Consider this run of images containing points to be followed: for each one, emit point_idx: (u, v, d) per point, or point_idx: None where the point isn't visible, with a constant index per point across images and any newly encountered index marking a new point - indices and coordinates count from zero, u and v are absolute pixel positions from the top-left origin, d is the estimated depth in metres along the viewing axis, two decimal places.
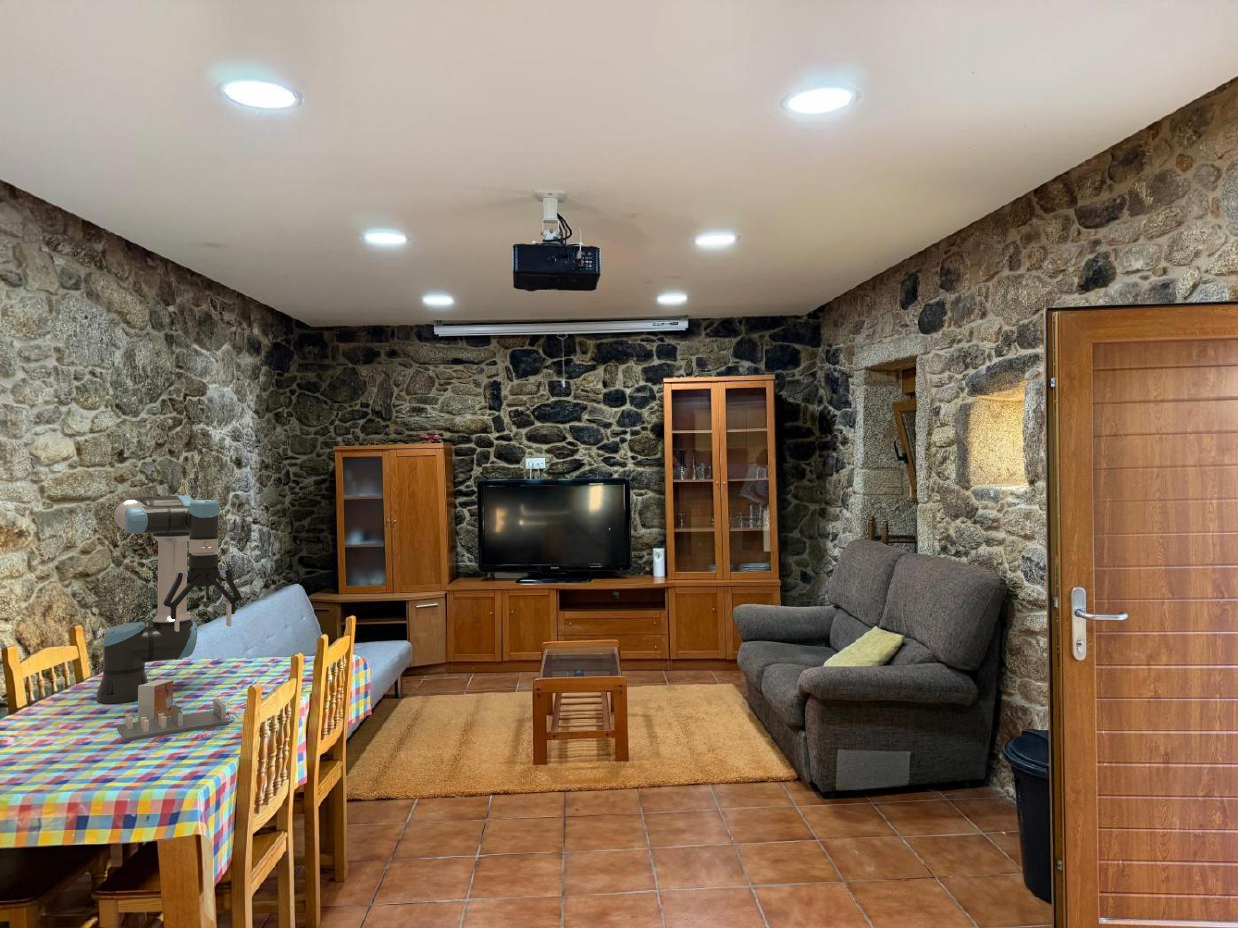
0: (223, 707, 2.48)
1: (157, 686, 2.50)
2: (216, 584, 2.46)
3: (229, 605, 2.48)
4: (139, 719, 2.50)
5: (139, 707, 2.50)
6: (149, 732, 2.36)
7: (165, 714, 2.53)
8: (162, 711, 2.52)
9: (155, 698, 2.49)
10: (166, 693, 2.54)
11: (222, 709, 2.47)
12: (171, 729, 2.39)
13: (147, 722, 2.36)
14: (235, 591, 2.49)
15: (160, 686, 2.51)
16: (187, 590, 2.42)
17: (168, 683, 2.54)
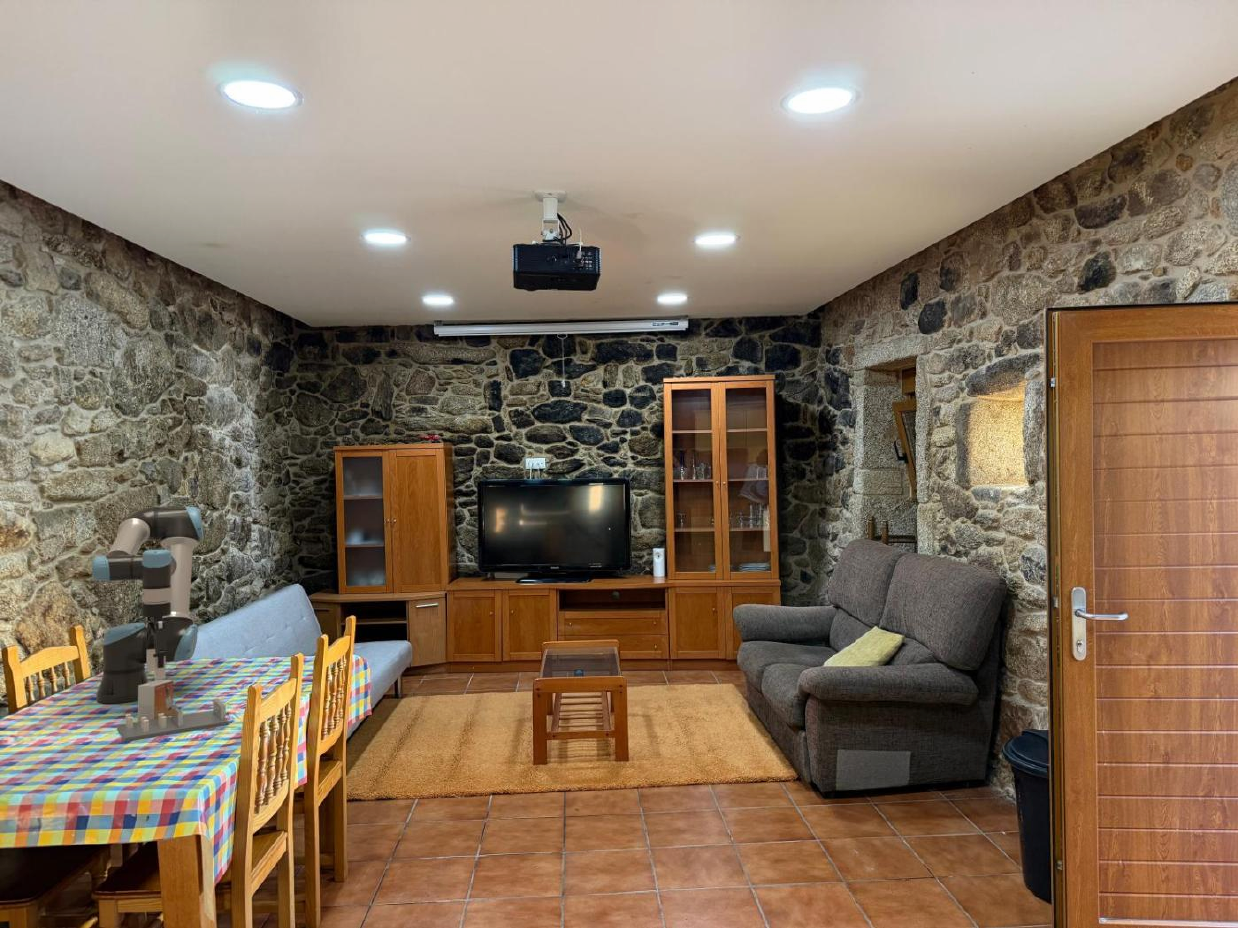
0: (223, 707, 2.48)
1: (157, 686, 2.50)
2: (151, 634, 2.50)
3: (154, 658, 2.47)
4: (139, 719, 2.50)
5: (139, 707, 2.50)
6: (149, 732, 2.36)
7: (165, 714, 2.53)
8: (162, 711, 2.52)
9: (155, 698, 2.49)
10: (166, 693, 2.54)
11: (222, 709, 2.47)
12: (171, 729, 2.39)
13: (147, 722, 2.36)
14: (156, 645, 2.46)
15: (160, 686, 2.51)
16: (149, 634, 2.56)
17: (168, 683, 2.54)
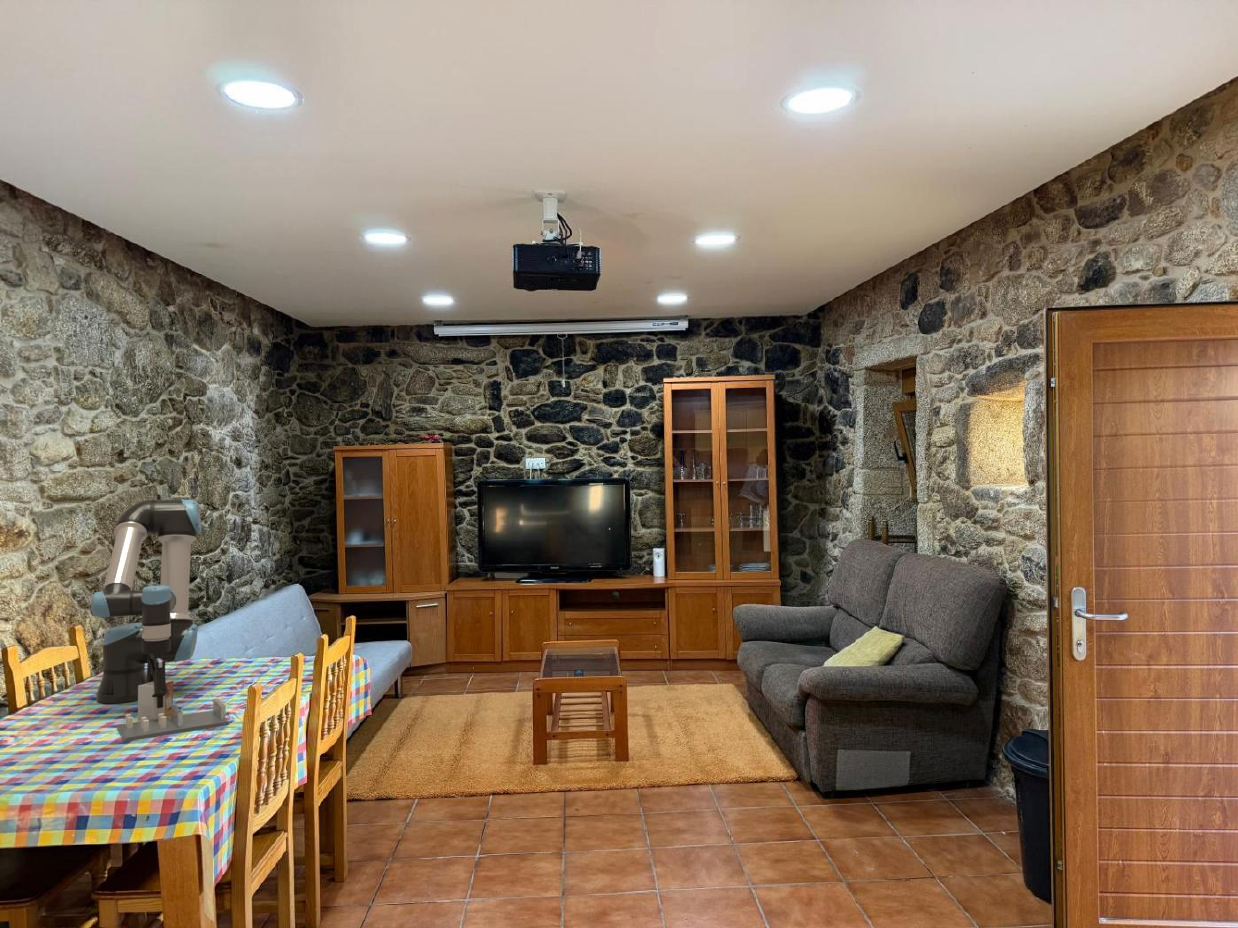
0: (223, 707, 2.48)
1: None
2: (151, 672, 2.50)
3: (154, 698, 2.48)
4: (139, 719, 2.49)
5: (139, 707, 2.49)
6: (149, 732, 2.36)
7: (165, 714, 2.53)
8: None
9: None
10: (166, 693, 2.53)
11: (222, 709, 2.47)
12: (171, 729, 2.39)
13: (147, 722, 2.36)
14: (155, 685, 2.46)
15: None
16: (149, 673, 2.55)
17: (168, 683, 2.54)
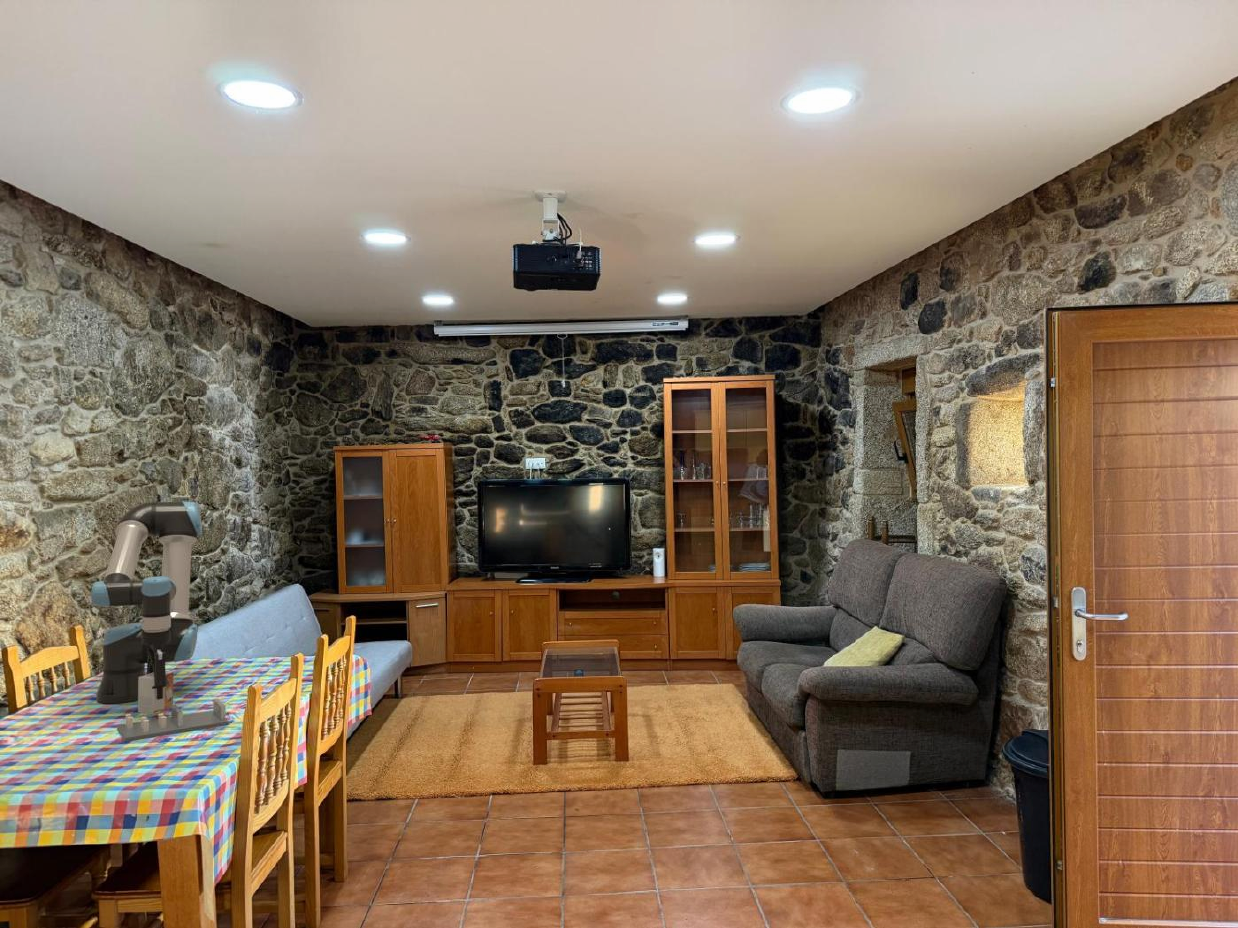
0: (223, 707, 2.48)
1: None
2: (151, 663, 2.50)
3: (154, 689, 2.49)
4: (139, 710, 2.50)
5: (139, 698, 2.50)
6: (149, 732, 2.36)
7: (165, 705, 2.54)
8: None
9: None
10: (166, 685, 2.54)
11: (222, 709, 2.47)
12: (171, 729, 2.39)
13: (147, 722, 2.36)
14: (155, 676, 2.47)
15: None
16: (149, 663, 2.56)
17: (168, 675, 2.55)
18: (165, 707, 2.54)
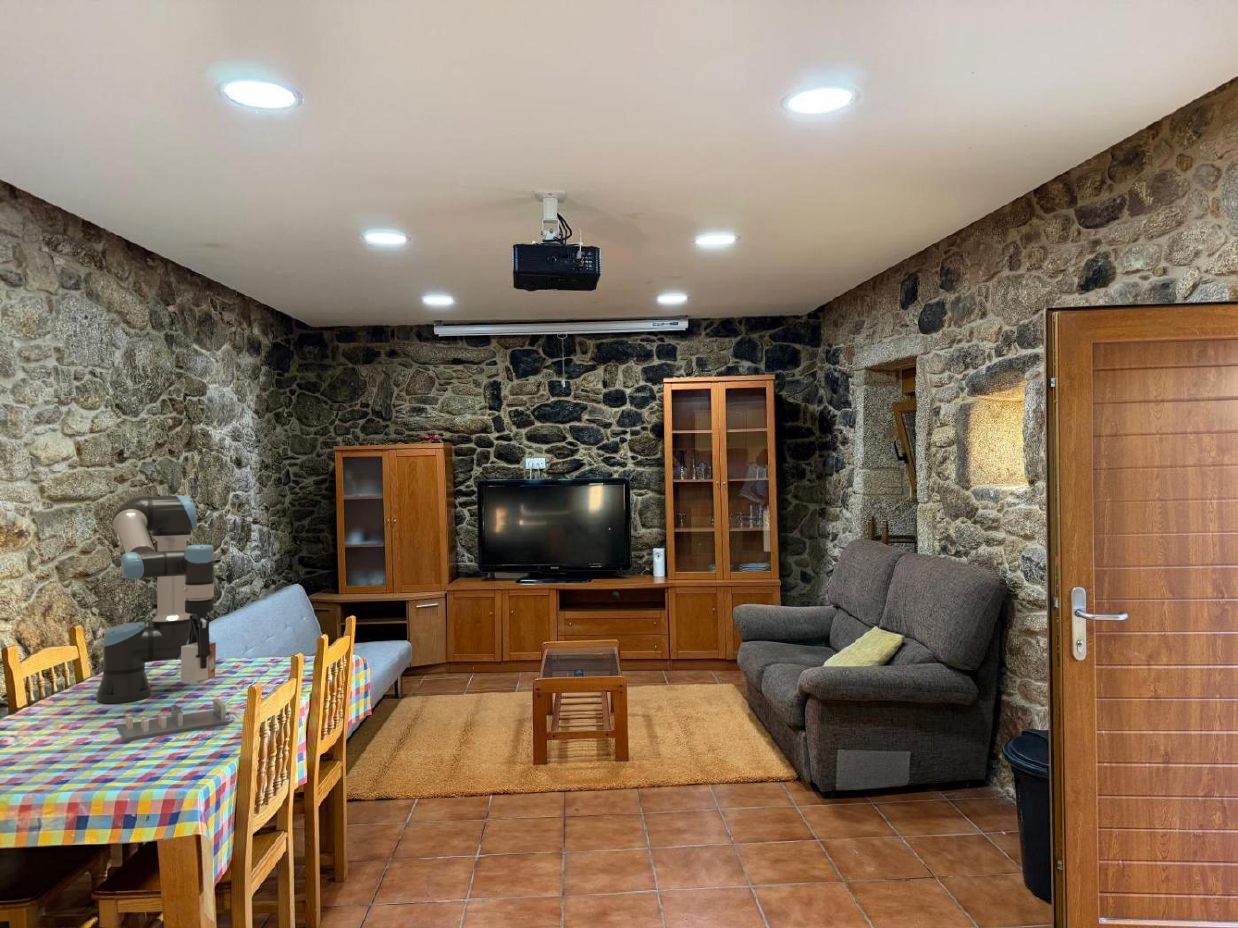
0: (223, 707, 2.48)
1: None
2: (194, 632, 2.45)
3: (197, 658, 2.44)
4: (182, 680, 2.45)
5: (182, 668, 2.45)
6: (149, 732, 2.36)
7: (208, 676, 2.48)
8: None
9: None
10: (209, 655, 2.49)
11: (222, 709, 2.47)
12: (171, 729, 2.39)
13: (147, 722, 2.36)
14: (199, 645, 2.42)
15: None
16: (192, 633, 2.50)
17: (211, 645, 2.50)
18: (208, 678, 2.48)
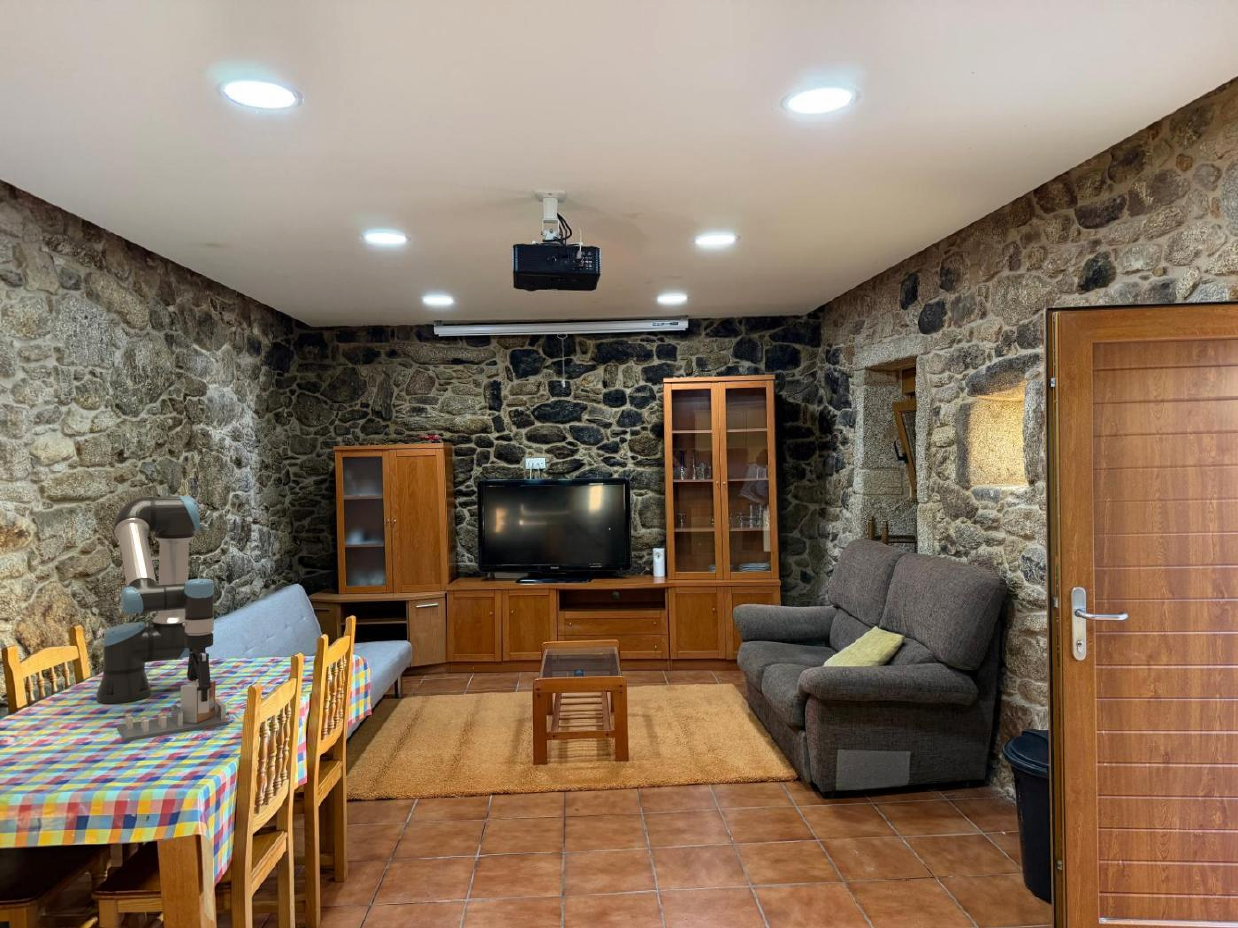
0: (223, 707, 2.48)
1: None
2: (194, 666, 2.45)
3: None
4: None
5: (182, 708, 2.45)
6: (149, 732, 2.36)
7: (208, 715, 2.49)
8: None
9: (197, 699, 2.44)
10: (209, 694, 2.49)
11: (222, 709, 2.47)
12: (171, 729, 2.39)
13: (147, 722, 2.36)
14: (200, 678, 2.41)
15: None
16: (191, 666, 2.51)
17: (211, 683, 2.50)
18: (207, 717, 2.48)
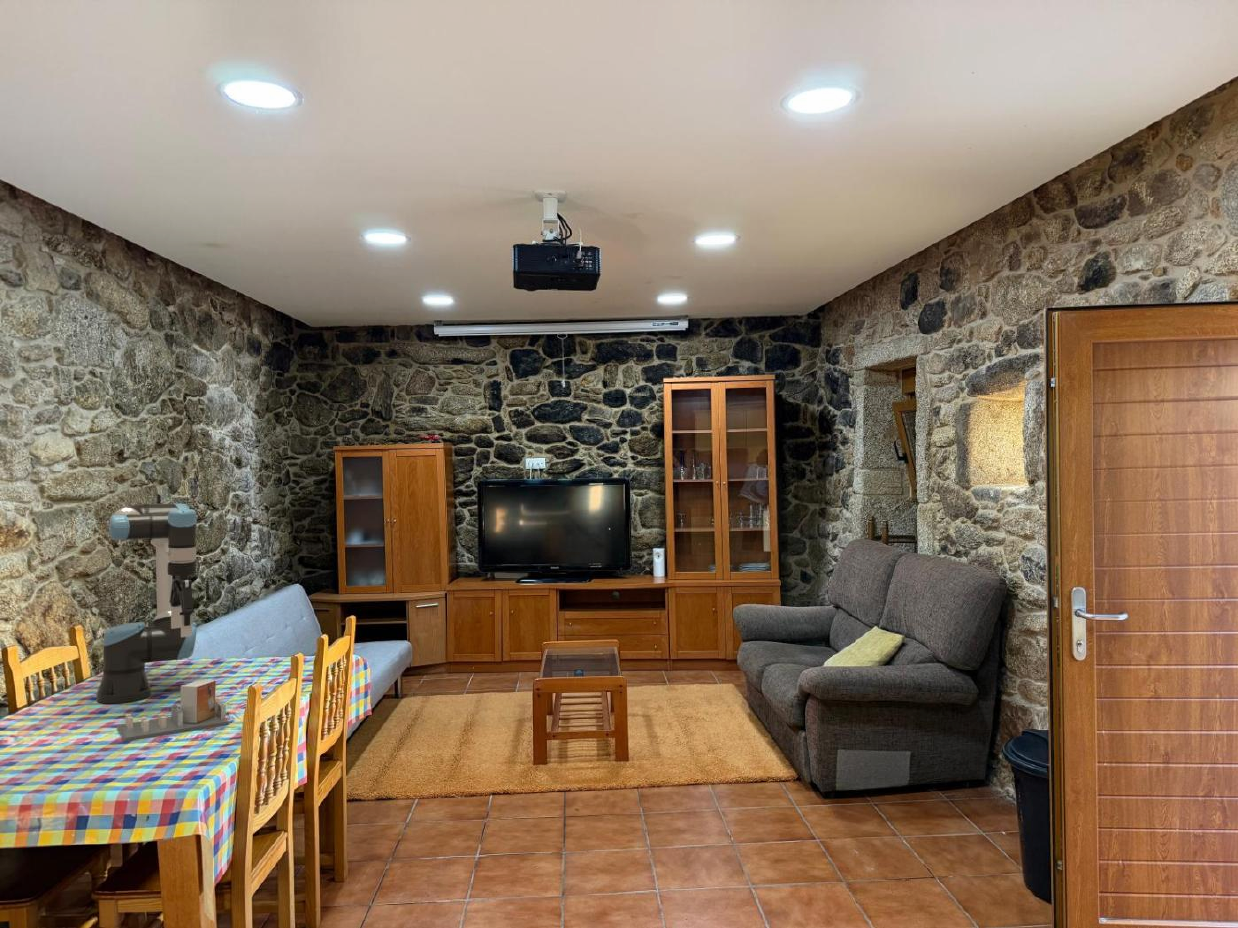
0: (223, 707, 2.48)
1: (200, 687, 2.45)
2: (177, 592, 2.52)
3: (181, 616, 2.50)
4: None
5: (182, 708, 2.45)
6: (149, 732, 2.36)
7: (208, 715, 2.49)
8: (205, 712, 2.47)
9: (197, 699, 2.44)
10: (209, 694, 2.49)
11: (222, 709, 2.47)
12: (171, 729, 2.39)
13: (147, 722, 2.36)
14: (183, 603, 2.49)
15: (203, 687, 2.46)
16: (173, 592, 2.59)
17: (211, 683, 2.50)
18: (207, 717, 2.48)
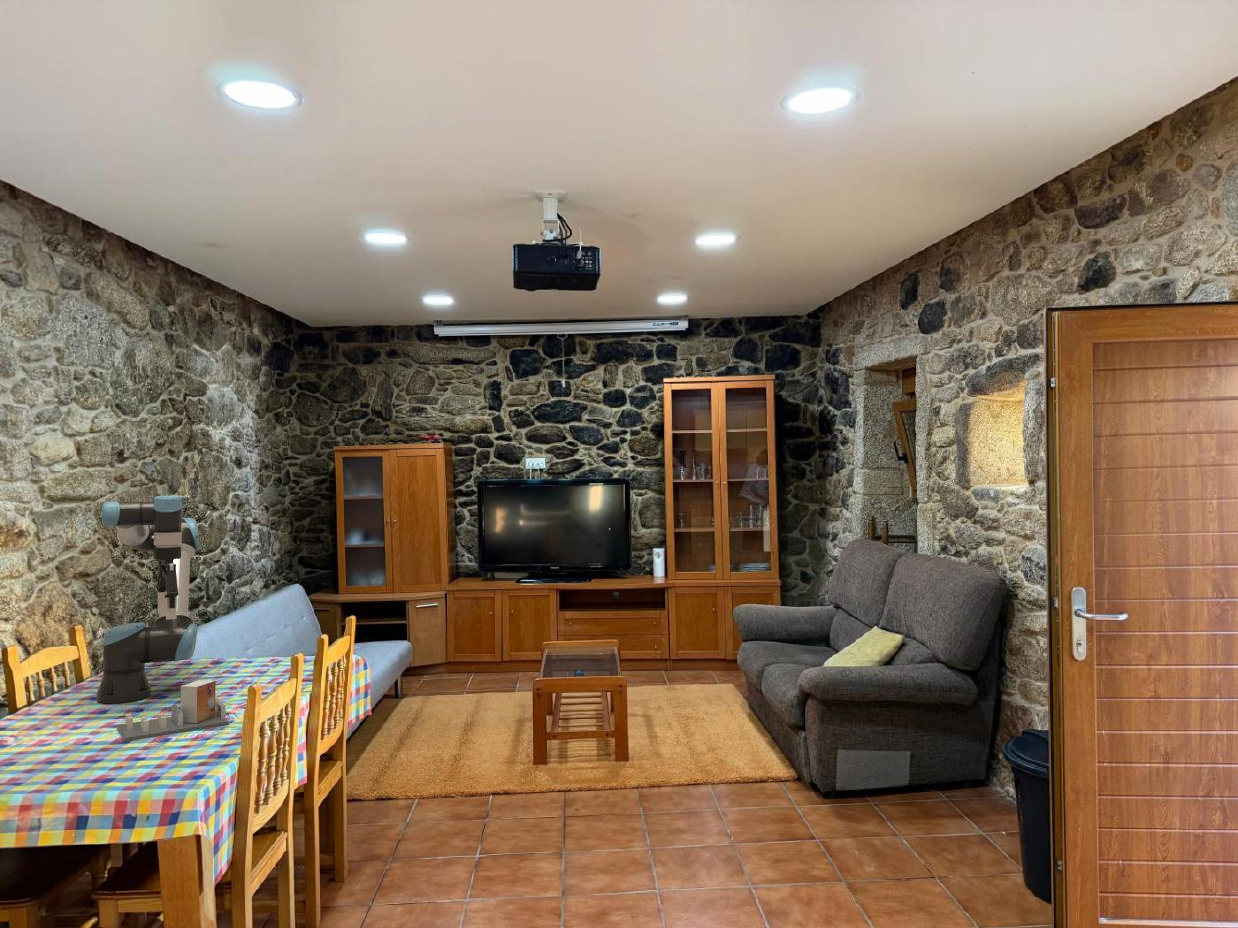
0: (223, 707, 2.48)
1: (200, 687, 2.45)
2: (162, 576, 2.58)
3: None
4: None
5: (182, 708, 2.45)
6: (149, 732, 2.36)
7: (208, 715, 2.49)
8: (205, 712, 2.47)
9: (197, 699, 2.44)
10: (209, 694, 2.49)
11: (222, 709, 2.47)
12: (171, 729, 2.39)
13: (147, 722, 2.36)
14: (168, 586, 2.54)
15: (203, 687, 2.46)
16: (160, 577, 2.64)
17: (211, 683, 2.50)
18: (207, 717, 2.48)
